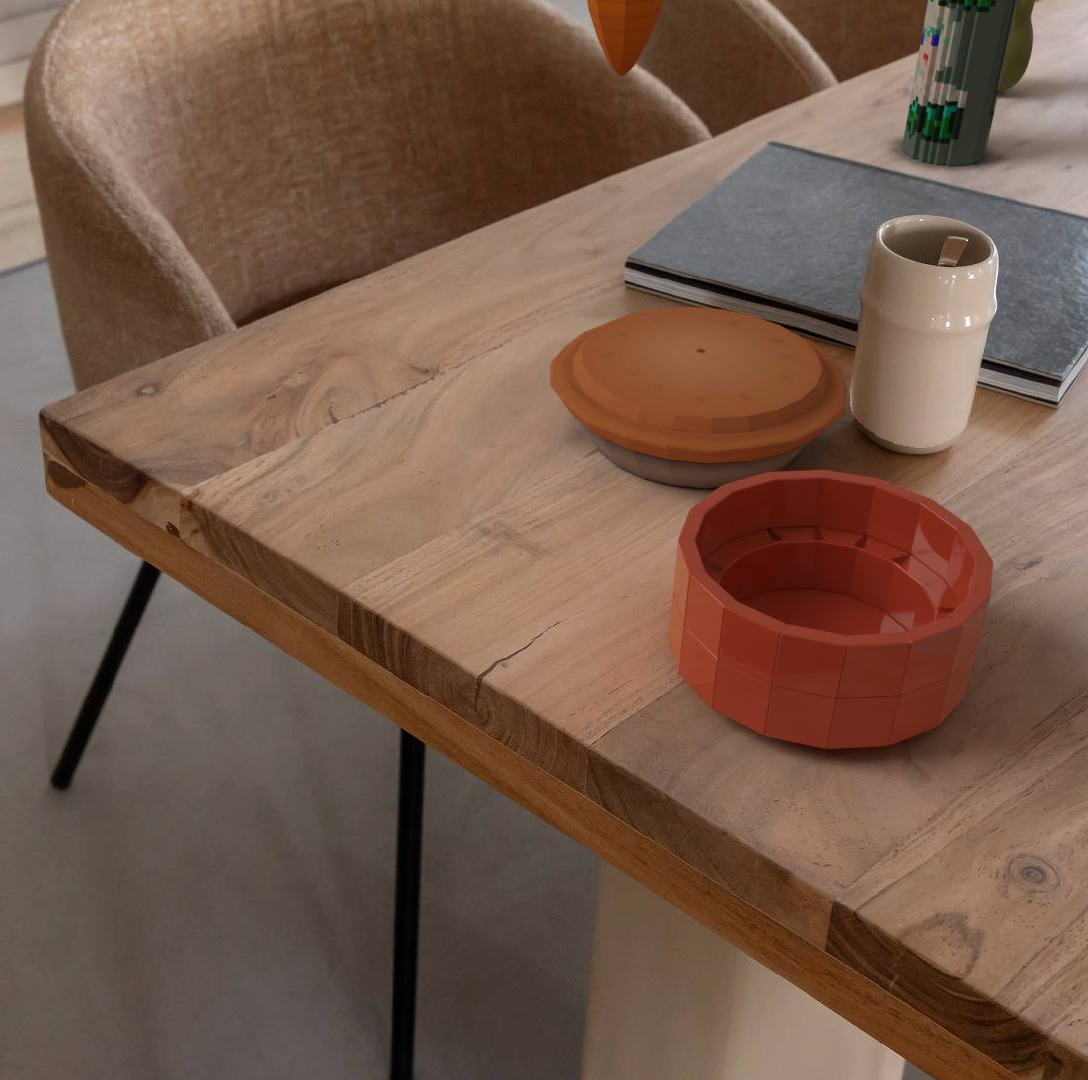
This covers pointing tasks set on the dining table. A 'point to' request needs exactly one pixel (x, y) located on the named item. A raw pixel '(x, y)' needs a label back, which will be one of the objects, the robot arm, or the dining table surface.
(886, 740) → the bowl
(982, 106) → the can
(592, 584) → the dining table surface
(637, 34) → the carrot
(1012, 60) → the pear
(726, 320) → the pie
